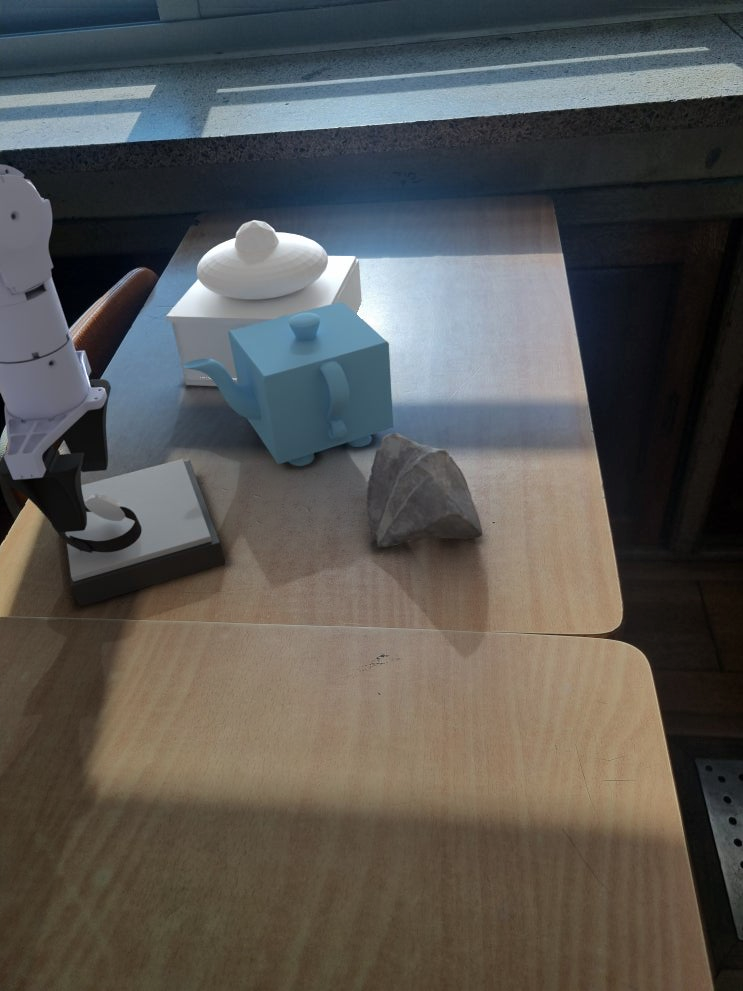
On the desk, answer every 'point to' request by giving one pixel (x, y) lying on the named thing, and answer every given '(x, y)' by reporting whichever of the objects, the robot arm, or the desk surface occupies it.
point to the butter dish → (256, 291)
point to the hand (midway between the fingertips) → (84, 497)
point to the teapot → (308, 381)
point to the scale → (145, 533)
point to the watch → (108, 511)
